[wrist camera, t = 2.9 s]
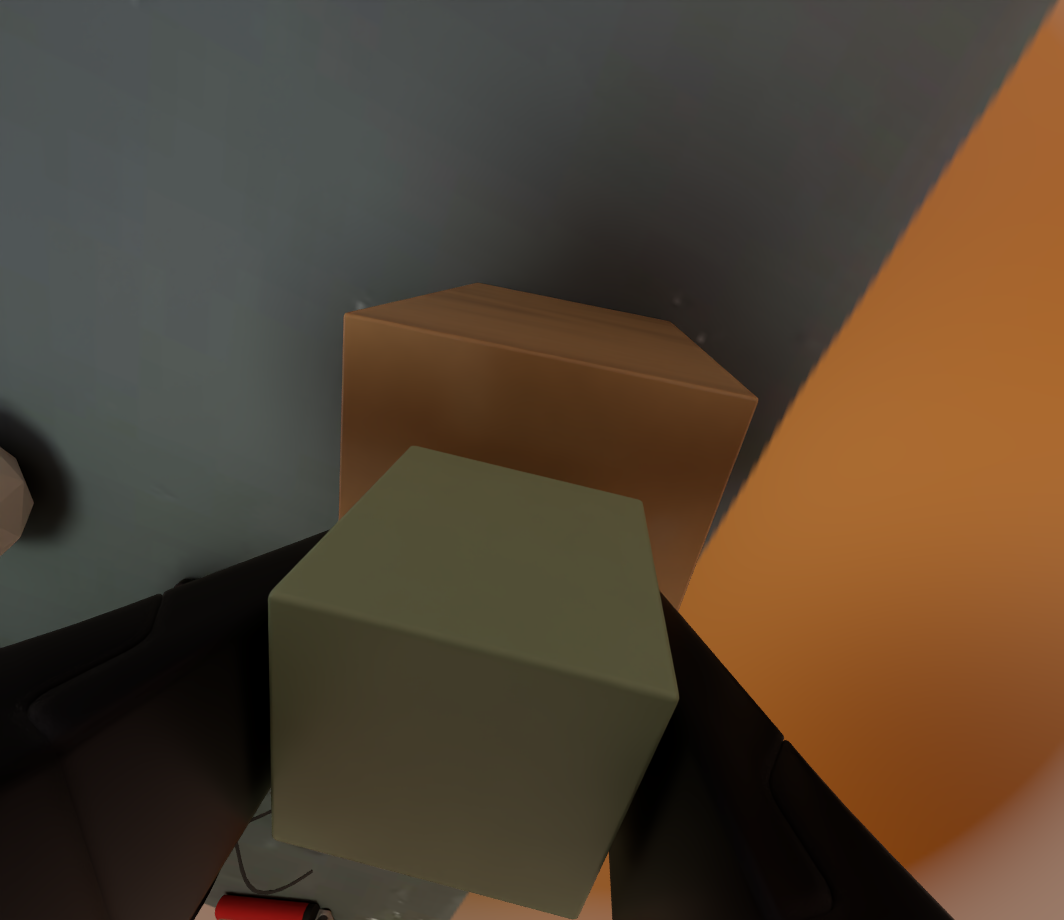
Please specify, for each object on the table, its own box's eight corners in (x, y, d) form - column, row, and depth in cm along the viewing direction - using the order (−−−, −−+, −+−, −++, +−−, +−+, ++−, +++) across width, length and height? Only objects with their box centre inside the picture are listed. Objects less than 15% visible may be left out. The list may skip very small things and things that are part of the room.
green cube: (584, 672, 10) (577, 923, 6) (390, 623, 10) (269, 841, 6) (643, 499, 8) (683, 700, 4) (410, 442, 8) (263, 593, 5)
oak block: (621, 496, 20) (644, 703, 11) (453, 460, 20) (334, 632, 11) (671, 321, 17) (761, 398, 8) (475, 282, 17) (341, 311, 8)
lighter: (237, 913, 37) (336, 923, 36) (225, 934, 36) (328, 945, 34) (224, 890, 36) (327, 900, 34) (212, 911, 34) (317, 922, 33)
